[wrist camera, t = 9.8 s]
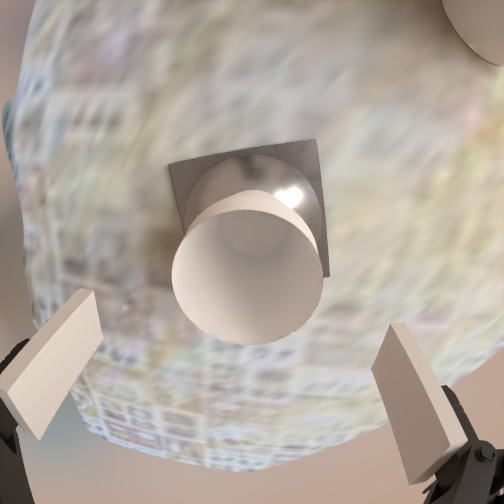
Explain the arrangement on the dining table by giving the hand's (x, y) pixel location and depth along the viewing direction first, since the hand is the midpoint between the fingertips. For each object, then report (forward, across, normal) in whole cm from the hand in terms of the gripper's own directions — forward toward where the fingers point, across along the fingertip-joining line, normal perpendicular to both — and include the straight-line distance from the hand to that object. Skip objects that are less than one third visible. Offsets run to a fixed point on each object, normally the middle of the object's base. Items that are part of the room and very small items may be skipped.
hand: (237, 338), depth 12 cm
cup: (+17, 0, 0) cm, 17 cm away
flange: (+19, 0, 0) cm, 19 cm away
